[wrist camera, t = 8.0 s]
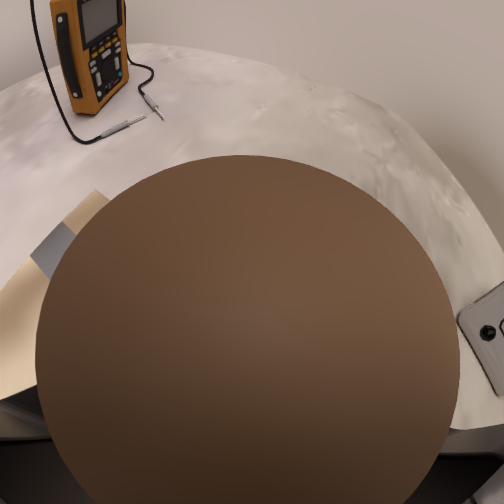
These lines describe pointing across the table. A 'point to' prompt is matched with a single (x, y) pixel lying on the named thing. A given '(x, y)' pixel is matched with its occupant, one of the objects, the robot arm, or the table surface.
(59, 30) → the multimeter
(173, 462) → the brown round-topped cylinder
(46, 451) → the robot arm
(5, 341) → the board
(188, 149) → the table surface
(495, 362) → the electrical switch
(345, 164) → the table surface
